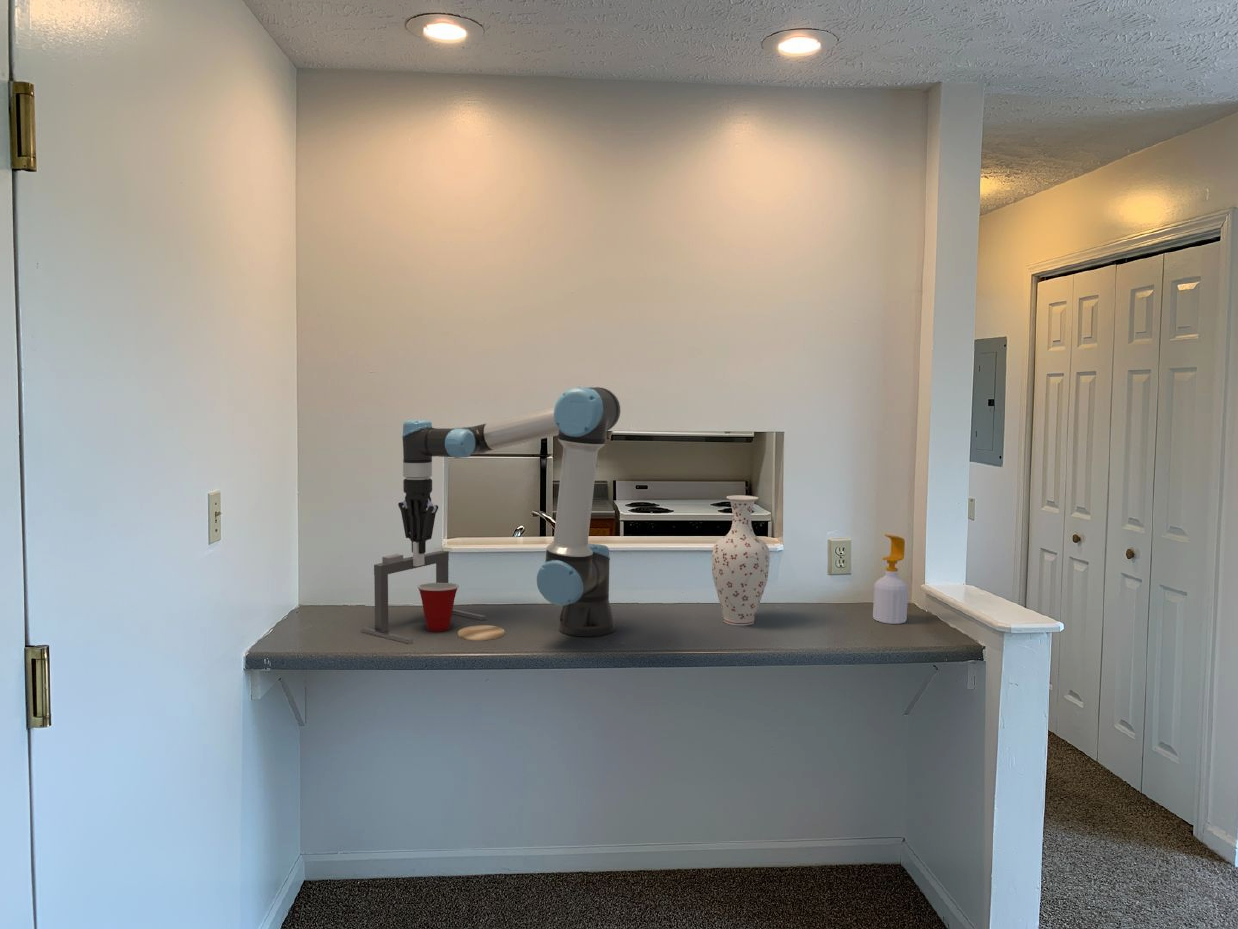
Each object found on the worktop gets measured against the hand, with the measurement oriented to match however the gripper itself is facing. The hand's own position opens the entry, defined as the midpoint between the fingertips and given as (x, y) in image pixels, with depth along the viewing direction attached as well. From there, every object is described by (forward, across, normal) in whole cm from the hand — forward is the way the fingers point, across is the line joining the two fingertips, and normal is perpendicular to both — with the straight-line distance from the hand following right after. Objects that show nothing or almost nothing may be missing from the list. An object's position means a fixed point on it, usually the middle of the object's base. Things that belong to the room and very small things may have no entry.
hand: (418, 565), depth 231 cm
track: (+16, -2, 0) cm, 16 cm away
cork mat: (+16, -20, -3) cm, 26 cm away
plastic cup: (+16, -7, 0) cm, 18 cm away
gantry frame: (+16, +2, 0) cm, 16 cm away
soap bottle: (+17, -103, -81) cm, 132 cm away
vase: (+17, -69, -54) cm, 89 cm away
